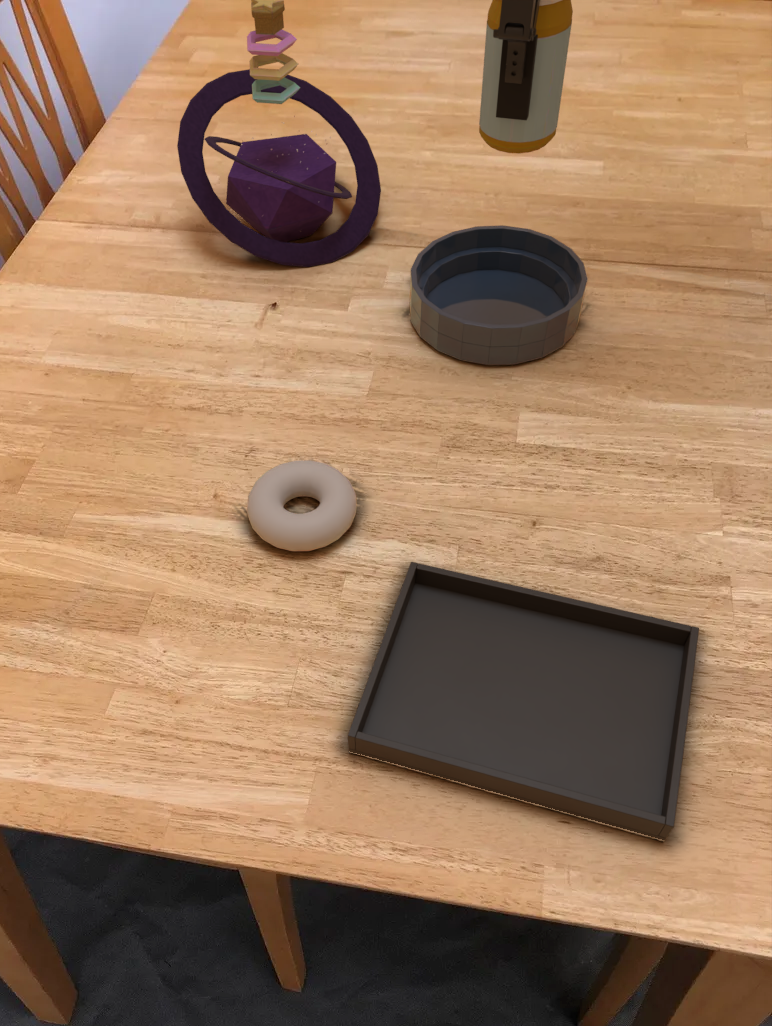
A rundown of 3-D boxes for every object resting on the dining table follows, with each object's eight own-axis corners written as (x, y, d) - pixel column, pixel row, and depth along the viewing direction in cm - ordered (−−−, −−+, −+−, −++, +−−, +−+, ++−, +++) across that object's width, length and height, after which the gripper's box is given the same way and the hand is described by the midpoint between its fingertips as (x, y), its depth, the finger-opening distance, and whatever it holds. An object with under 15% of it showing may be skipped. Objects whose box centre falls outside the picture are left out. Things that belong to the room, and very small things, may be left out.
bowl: (591, 278, 104) (599, 238, 100) (561, 381, 94) (569, 340, 90) (434, 255, 108) (436, 215, 104) (389, 351, 98) (390, 311, 94)
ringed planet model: (225, 299, 105) (189, 66, 85) (174, 209, 117) (132, -14, 97) (405, 250, 109) (410, 16, 89) (338, 167, 121) (330, -55, 101)
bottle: (482, 117, 88) (496, -69, 76) (557, 120, 87) (584, -68, 75) (474, 154, 84) (488, -36, 72) (553, 158, 83) (580, -35, 71)
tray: (689, 647, 74) (699, 627, 72) (664, 843, 64) (674, 827, 62) (410, 581, 79) (411, 561, 77) (348, 753, 70) (347, 735, 68)
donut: (238, 554, 82) (348, 564, 81) (232, 528, 80) (346, 538, 78) (262, 474, 88) (365, 482, 87) (257, 448, 86) (364, 455, 84)
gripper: (533, -281, 71) (504, 44, 89) (471, -207, 59) (452, 146, 78) (634, -281, 69) (583, 51, 87) (589, -206, 58) (541, 156, 76)
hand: (521, 95), depth 82 cm, fingers closed on bottle, 7 cm apart
